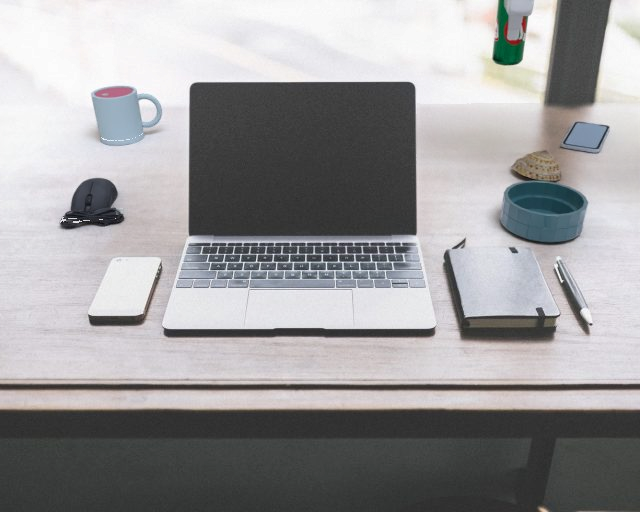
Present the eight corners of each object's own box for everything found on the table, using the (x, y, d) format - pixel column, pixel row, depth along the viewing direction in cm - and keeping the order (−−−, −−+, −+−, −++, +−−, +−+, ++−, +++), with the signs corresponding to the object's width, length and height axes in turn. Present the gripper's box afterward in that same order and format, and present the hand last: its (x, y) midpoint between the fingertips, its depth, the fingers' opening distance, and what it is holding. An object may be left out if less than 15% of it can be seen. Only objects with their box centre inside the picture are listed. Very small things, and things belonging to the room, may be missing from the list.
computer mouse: (131, 186, 112) (127, 167, 110) (124, 224, 100) (120, 203, 98) (73, 192, 111) (68, 172, 109) (59, 230, 99) (53, 209, 97)
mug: (99, 147, 129) (89, 100, 124) (101, 132, 137) (92, 87, 132) (166, 141, 132) (159, 94, 127) (165, 126, 140) (158, 82, 134)
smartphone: (560, 144, 124) (574, 120, 135) (559, 148, 125) (574, 124, 136) (599, 150, 121) (611, 125, 132) (598, 154, 122) (610, 129, 133)
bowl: (573, 210, 102) (579, 182, 99) (588, 248, 91) (595, 218, 89) (496, 206, 103) (500, 178, 101) (503, 242, 93) (508, 213, 91)
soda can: (496, 57, 109) (504, -16, 103) (525, 60, 107) (535, -15, 101) (487, 64, 105) (495, -12, 99) (517, 67, 103) (527, -11, 97)
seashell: (506, 154, 117) (549, 139, 114) (514, 179, 119) (556, 165, 117) (514, 171, 110) (560, 156, 107) (522, 198, 112) (567, 183, 110)
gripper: (552, -52, 87) (537, 49, 95) (534, -63, 105) (523, 23, 112) (505, -50, 88) (495, 49, 96) (496, -62, 106) (487, 23, 113)
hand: (510, 35), depth 104 cm, fingers closed on soda can, 5 cm apart
